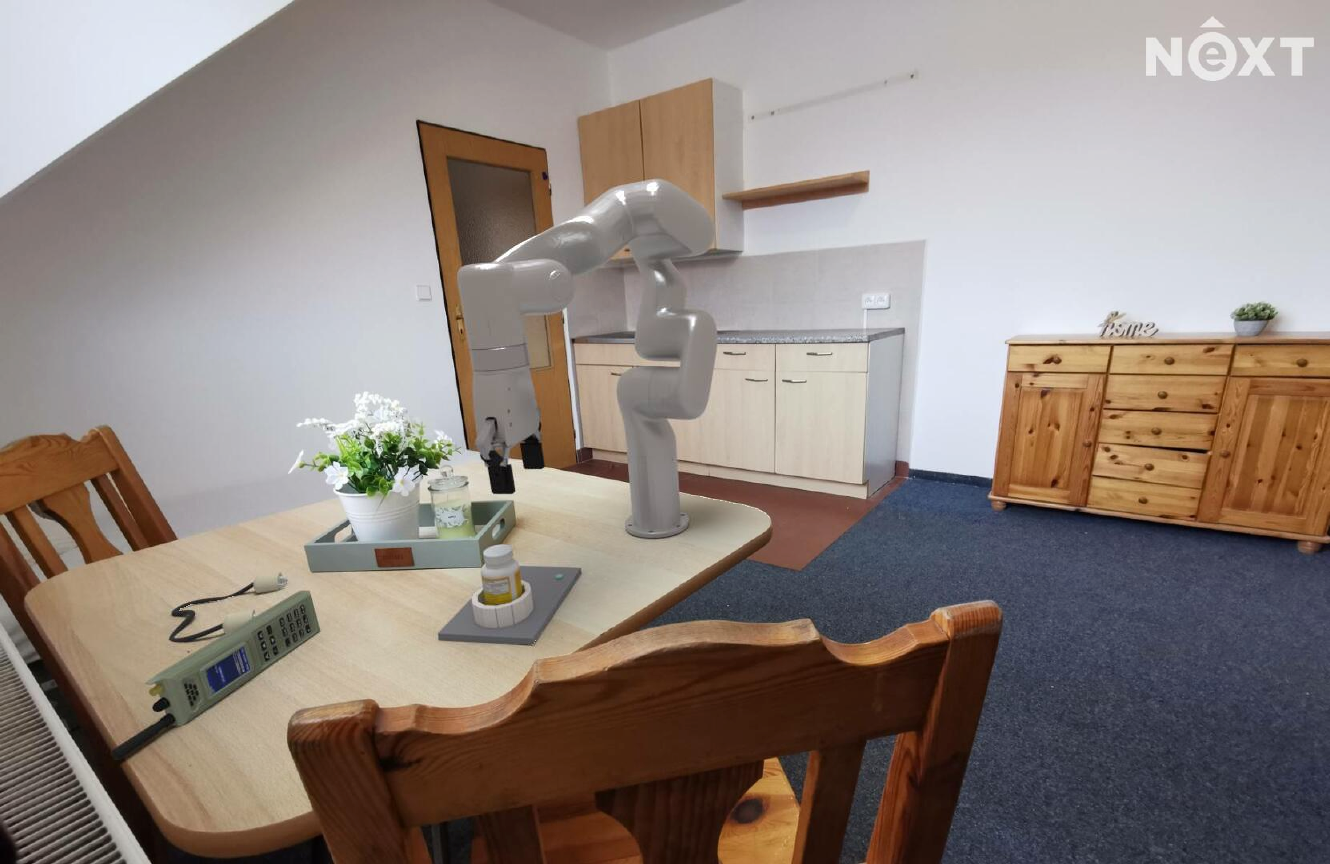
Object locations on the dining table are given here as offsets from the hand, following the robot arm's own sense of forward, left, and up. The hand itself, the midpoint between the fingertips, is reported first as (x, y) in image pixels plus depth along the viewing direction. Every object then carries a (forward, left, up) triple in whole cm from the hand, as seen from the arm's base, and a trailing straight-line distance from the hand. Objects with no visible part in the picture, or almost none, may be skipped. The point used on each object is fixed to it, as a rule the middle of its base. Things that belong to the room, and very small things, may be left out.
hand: (520, 480), depth 80 cm
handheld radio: (+20, -32, -21) cm, 44 cm away
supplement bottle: (+2, -4, -19) cm, 20 cm away
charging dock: (-1, -4, -20) cm, 21 cm away
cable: (+6, -50, -21) cm, 54 cm away
